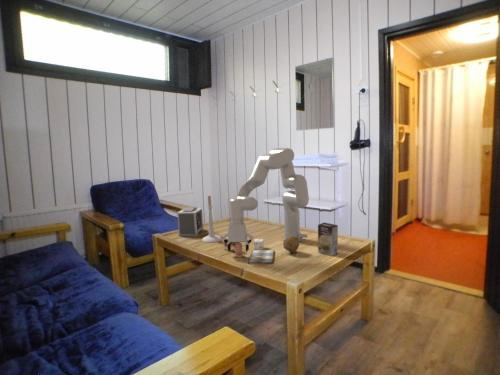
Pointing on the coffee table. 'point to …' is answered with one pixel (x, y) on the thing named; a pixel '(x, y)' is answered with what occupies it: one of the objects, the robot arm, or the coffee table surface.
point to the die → (258, 244)
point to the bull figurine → (230, 243)
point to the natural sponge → (291, 243)
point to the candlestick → (211, 227)
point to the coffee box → (328, 238)
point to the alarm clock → (190, 221)
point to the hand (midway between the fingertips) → (238, 251)
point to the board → (261, 256)
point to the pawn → (238, 250)
